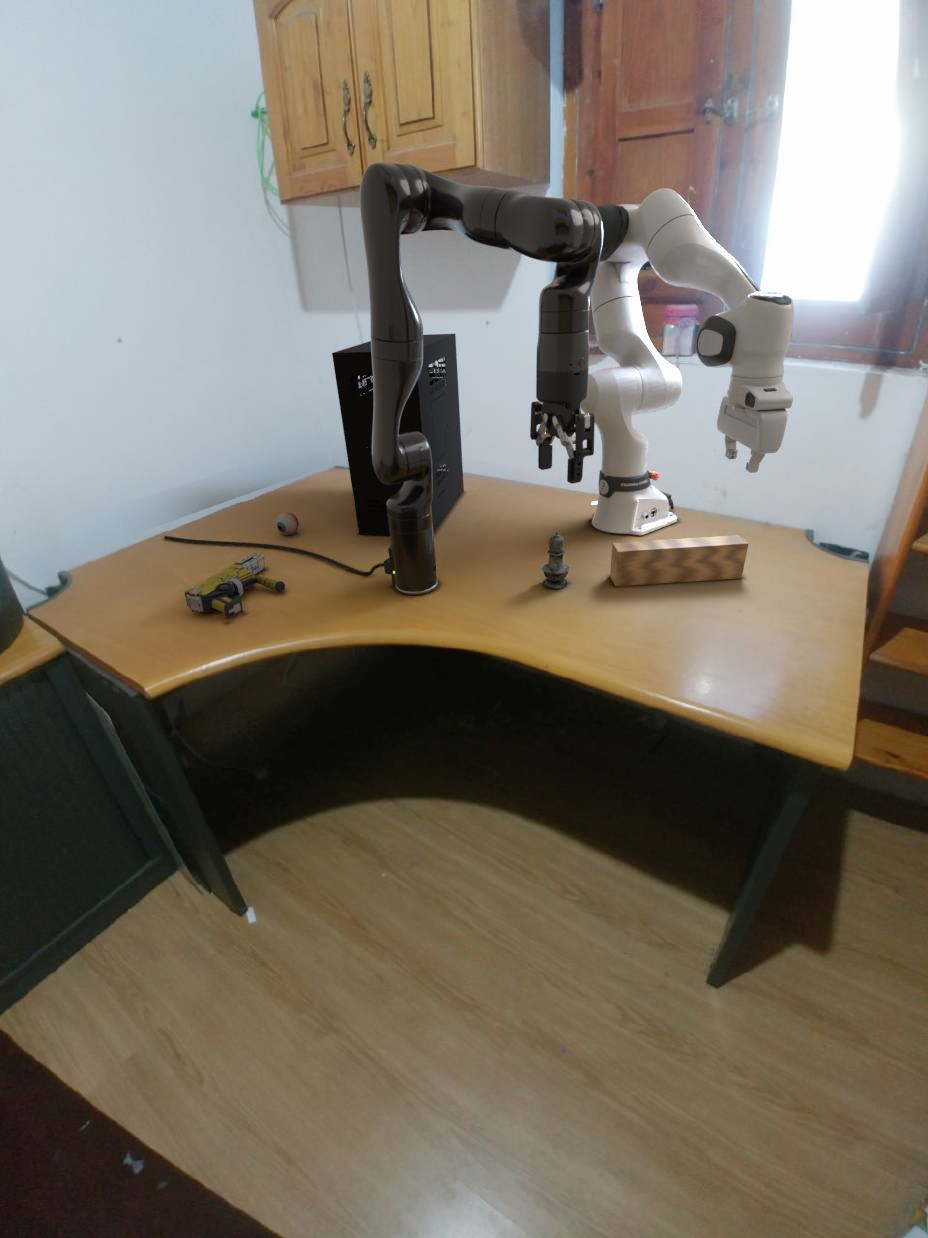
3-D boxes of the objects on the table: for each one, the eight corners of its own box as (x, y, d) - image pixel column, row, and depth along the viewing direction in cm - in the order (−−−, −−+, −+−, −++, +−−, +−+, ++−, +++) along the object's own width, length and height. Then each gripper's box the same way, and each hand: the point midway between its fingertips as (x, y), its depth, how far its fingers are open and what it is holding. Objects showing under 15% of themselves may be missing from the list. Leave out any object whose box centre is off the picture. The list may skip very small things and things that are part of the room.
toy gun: (306, 561, 141) (251, 550, 144) (240, 606, 120) (179, 591, 124) (307, 580, 143) (253, 568, 147) (243, 626, 123) (183, 611, 127)
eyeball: (273, 537, 164) (268, 516, 161) (287, 528, 169) (282, 508, 166) (291, 539, 161) (286, 518, 158) (305, 530, 166) (301, 510, 163)
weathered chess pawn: (568, 589, 128) (570, 537, 122) (540, 588, 130) (541, 536, 124) (569, 577, 133) (571, 526, 127) (542, 576, 134) (543, 525, 128)
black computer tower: (431, 537, 158) (415, 350, 135) (358, 534, 162) (332, 352, 140) (463, 491, 189) (455, 333, 167) (402, 489, 194) (386, 335, 171)
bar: (732, 568, 133) (738, 534, 129) (741, 578, 129) (748, 543, 125) (609, 576, 133) (612, 542, 129) (615, 586, 129) (618, 551, 125)
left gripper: (515, 363, 92) (516, 468, 100) (567, 373, 80) (563, 491, 89) (557, 358, 94) (555, 461, 102) (613, 367, 83) (606, 482, 91)
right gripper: (714, 383, 121) (704, 452, 128) (762, 402, 103) (747, 481, 110) (745, 381, 121) (733, 450, 128) (798, 399, 103) (781, 478, 110)
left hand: (559, 475), depth 96 cm, fingers open, 8 cm apart
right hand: (740, 464), depth 119 cm, fingers open, 8 cm apart
